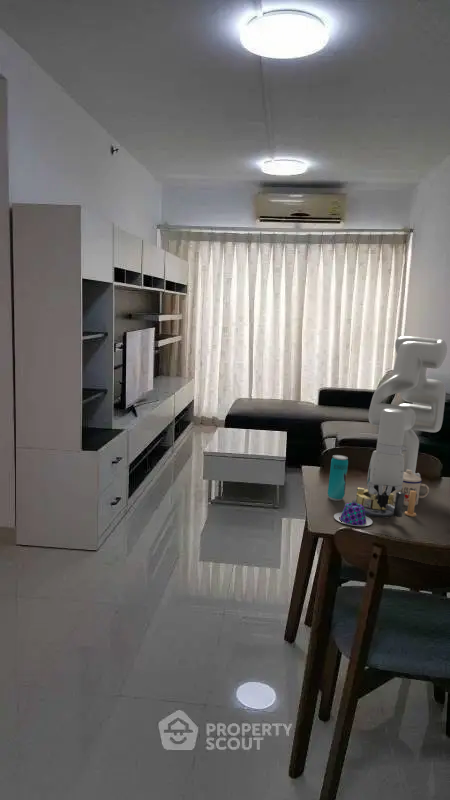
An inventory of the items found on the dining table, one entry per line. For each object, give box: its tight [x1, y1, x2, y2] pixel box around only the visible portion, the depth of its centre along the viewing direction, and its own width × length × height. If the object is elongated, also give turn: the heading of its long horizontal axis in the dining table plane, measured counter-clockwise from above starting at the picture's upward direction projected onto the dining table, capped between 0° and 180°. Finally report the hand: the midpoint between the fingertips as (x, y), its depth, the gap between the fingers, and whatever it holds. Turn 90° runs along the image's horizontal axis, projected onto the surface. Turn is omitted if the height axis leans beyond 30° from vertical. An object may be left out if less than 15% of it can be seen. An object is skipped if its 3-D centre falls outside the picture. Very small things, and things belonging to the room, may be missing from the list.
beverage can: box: [327, 454, 349, 502], centre depth 211 cm, size 6×6×15 cm
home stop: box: [404, 490, 417, 517], centre depth 201 cm, size 4×4×8 cm
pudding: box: [333, 502, 373, 527], centre depth 192 cm, size 12×12×5 cm
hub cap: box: [351, 478, 395, 519], centre depth 202 cm, size 14×14×11 cm
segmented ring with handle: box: [355, 487, 405, 518], centre depth 199 cm, size 19×12×8 cm, turn 24°
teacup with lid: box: [392, 469, 430, 507], centre depth 213 cm, size 12×9×12 cm
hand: (381, 506), depth 190 cm, fingers closed
